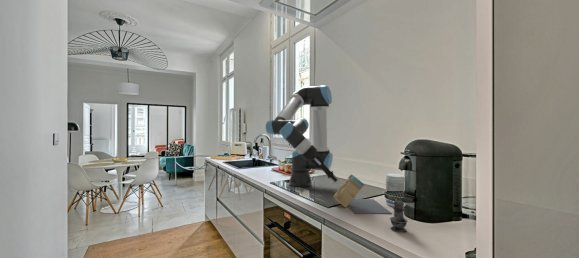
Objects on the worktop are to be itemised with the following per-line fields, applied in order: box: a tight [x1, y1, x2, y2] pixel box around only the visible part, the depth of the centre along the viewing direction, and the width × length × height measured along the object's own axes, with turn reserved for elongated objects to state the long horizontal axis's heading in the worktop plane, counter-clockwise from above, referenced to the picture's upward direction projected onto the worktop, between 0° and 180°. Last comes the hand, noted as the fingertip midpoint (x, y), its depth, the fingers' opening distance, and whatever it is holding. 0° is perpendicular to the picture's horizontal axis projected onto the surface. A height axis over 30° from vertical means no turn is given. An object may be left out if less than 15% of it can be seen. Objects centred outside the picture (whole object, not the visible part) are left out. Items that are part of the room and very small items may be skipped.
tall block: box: [332, 173, 365, 209], centre depth 116 cm, size 6×6×14 cm
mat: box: [347, 198, 393, 215], centre depth 116 cm, size 22×16×1 cm
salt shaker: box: [389, 197, 409, 234], centre depth 88 cm, size 6×6×12 cm
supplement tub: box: [385, 173, 405, 208], centre depth 118 cm, size 10×10×15 cm
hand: (340, 185), depth 116 cm, fingers closed
